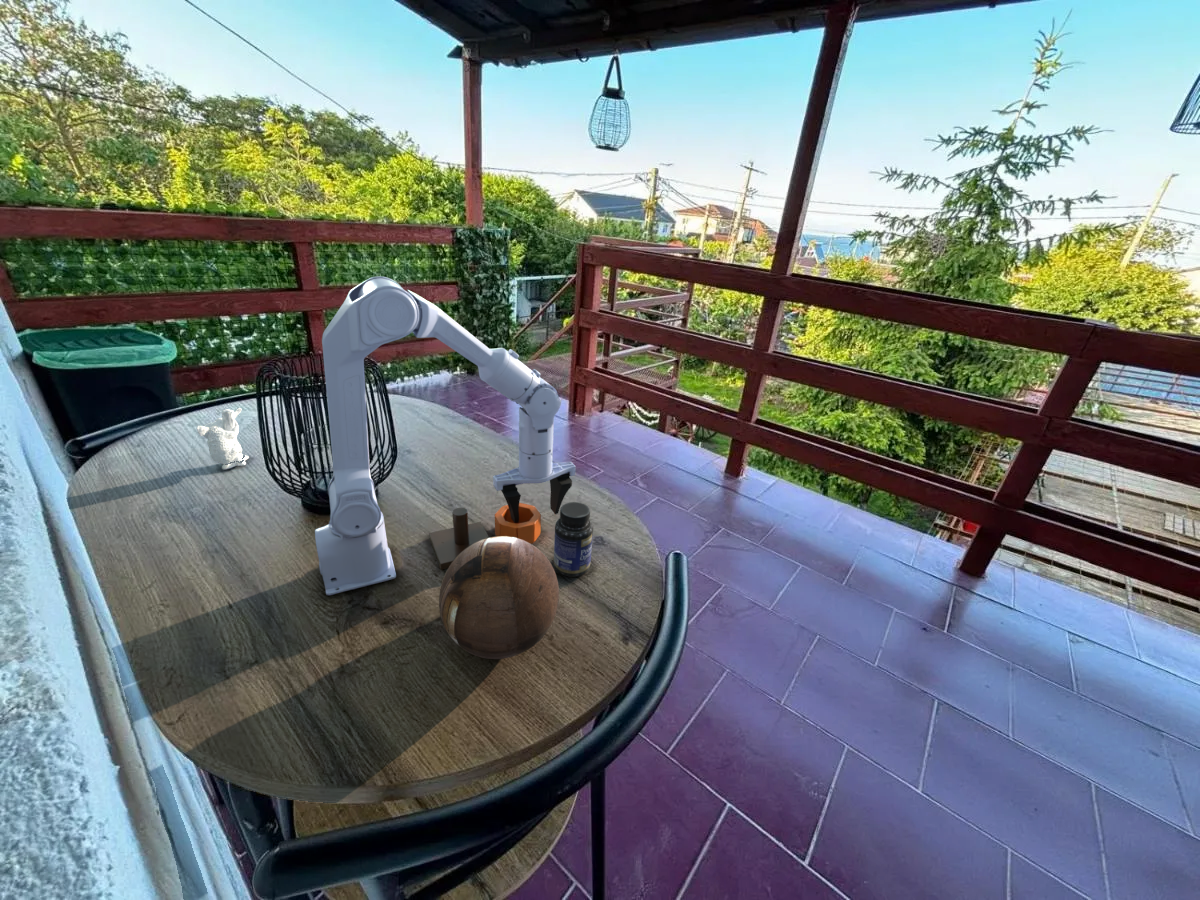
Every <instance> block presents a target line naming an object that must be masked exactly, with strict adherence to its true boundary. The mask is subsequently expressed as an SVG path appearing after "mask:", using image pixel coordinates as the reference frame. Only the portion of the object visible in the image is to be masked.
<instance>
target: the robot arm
mask: <svg viewBox="0 0 1200 900" xmlns="http://www.w3.org/2000/svg"><path fill="white" fill-rule="evenodd" d="M411 334H413V335H414V337H415V338H416V339H418V338H419V339H425V338H427V339H428V338H435V339H437V340H438V341H440V342H441V343H443V344H444V345H446V346H447V347H449V348H450V349H452V350H453V351H455V352H457V353H458V354H459V355H461V356H462V357H463V358H465V359H467V360H468V361H469V362H471V363H473V364H474V365H476V367H477V369H478V370H477V371H478V375H479V376H478V377H479V378H480V380H481V381H483V382H484V383H486V384H487V385H488V386H490V387H491V388H493V389H494V390H495V391H497V392H498V393H500V394H501V395H503V396H504V397H505V398H507V399H508V400H510V401H511V402H513V403H515V404H516V405H518V406H520V407H518V467H515V468H512V469H509V470H507V471H505V472H502V473H499V474H495V475H492V485H493V488H494V489H495V491H496V492H499V491H501V493H502V495H503V497H504V499H505V502H506V505H508V507H509V510H510V514H511V519H512V520H513V522H514V523H519V503H521V502H520V501H521V497H522V495H521V494H520V492H519V491H518V487H517V486H520V485H524V484H543V483H546V482H549V485H550V497H549V498H550V499H549V507H550V510H551V511H552V512H553V513H554V515H558V514H559V513H560V509H561V507H562V503H563V500H564V498H565V496H566V495H567V493H568V491H569V490H570V489H571V488H572V486H573V479H572V478H571V477H574V476H576V470H577V469H576V467H577V466H576V465H575V464H574V462H572V461H565V462H553V455H554V428H555V427H554V425H555V416H556V414H557V413H558V412H559V411H560V408H561V405H562V400H561V399H560V397H559V394H558V391H557V389H556V388H555V387H554V386H553V385H551V384H550V383H549V382H547V381H546V380H545V379H544V378H542V377H541V373H540V372H539V371H538V370H537V369H535V368H533V369H531V368H529V367H528V366H527V365H526V364H524V362H522V361H520V359H518V358H520V355H519V354H518V353H517V352H515V350H513V349H511V348H510V349H509V350H507V349H505V348H504V347H497V348H489V347H488V346H487V345H486V344H484V343H483V342H482V341H481V340H480V339H478V338H477V337H475V336H474V335H473V334H472V333H471V332H469V331H468V330H467V329H466V328H465V327H463V326H462V325H461V324H459V323H458V322H457V321H456V320H454V319H453V318H452V317H451V316H449V315H448V314H447V312H445V311H443V310H442V309H441V308H440V307H439V306H438V305H436V304H434V303H432V302H430V301H429V300H426V299H425V298H423V296H420V295H419V294H417V293H415V292H413V291H411V290H409V289H406V290H405V289H404V288H403V287H402V286H401V285H400V284H399V283H398V282H397V281H395V280H393V279H392V278H390V277H387V276H381V275H379V276H378V275H377V276H372V277H370V278H367V279H366V280H364V281H362V282H360V283H359V284H358V285H356V286H354V287H353V288H352V289H350V290H349V291H348V294H347V296H346V297H345V300H344V301H343V303H342V304H341V306H340V307H339V309H338V310H337V311H336V313H335V314H334V315H333V318H332V319H331V321H330V322H329V324H328V325H327V327H326V328H325V329H324V331H323V333H322V337H321V345H322V356H323V367H324V369H323V370H324V378H325V390H326V400H327V402H326V403H327V412H328V423H329V435H330V445H331V458H332V477H331V479H330V481H329V482H328V485H327V495H328V497H329V498H328V499H329V509H330V514H329V522H328V524H326V525H323V526H320V527H318V528H315V529H314V536H315V546H316V552H317V557H318V568H319V573H320V575H321V576H322V580H323V584H324V588H325V594H326V596H333V595H336V594H340V593H345V592H348V591H352V590H356V589H360V588H364V587H367V586H368V587H369V586H371V585H375V584H379V583H382V582H387V581H392V580H394V579H396V578H397V572H396V569H395V565H394V561H393V556H392V552H391V549H390V547H389V546H388V539H387V531H386V525H385V518H384V513H383V512H382V510H381V508H380V505H379V503H378V500H377V496H376V491H375V483H374V480H373V478H372V475H371V469H370V468H371V467H370V450H369V431H368V413H367V398H366V397H367V395H366V380H365V376H366V375H365V362H364V361H365V359H366V358H367V356H369V355H370V354H371V353H373V352H374V351H376V350H377V349H378V348H379V347H381V346H382V345H385V344H389V343H392V342H394V341H397V340H401V339H403V338H405V337H407V336H409V335H411Z"/></svg>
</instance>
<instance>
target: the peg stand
mask: <svg viewBox="0 0 1200 900" xmlns="http://www.w3.org/2000/svg"><path fill="white" fill-rule="evenodd" d="M468 511H469V510H468V509H467V508H465V507H456V508H454V509H453V510H452V513H451V514H452V524H453V526H452V527H451V528H445V529H442V530H437V531H432V532H429V533H428V538H429V542H430V543H431V546H432V549H433V552H434V555H435V557H436V560H437V562H438V565H439V568H440V570H442V571H443V570H447V569H448V568H449V566H450V565H451V563H452V562H453V561H454V559H455V558H456V557H457V556H458V555H459V554H460V553H461V552H462V551H464V550H465V549H466V548H468V547H469V546H471V545H472V544H474V543H476V542H478V541H481V540H484V539H487V538H490V537H489V535H488V533H487V531H486V529H485V527H484V525H483V524H482V522H481V521H476V522H473V523H469V516H468V515H469V512H468Z"/></svg>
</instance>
